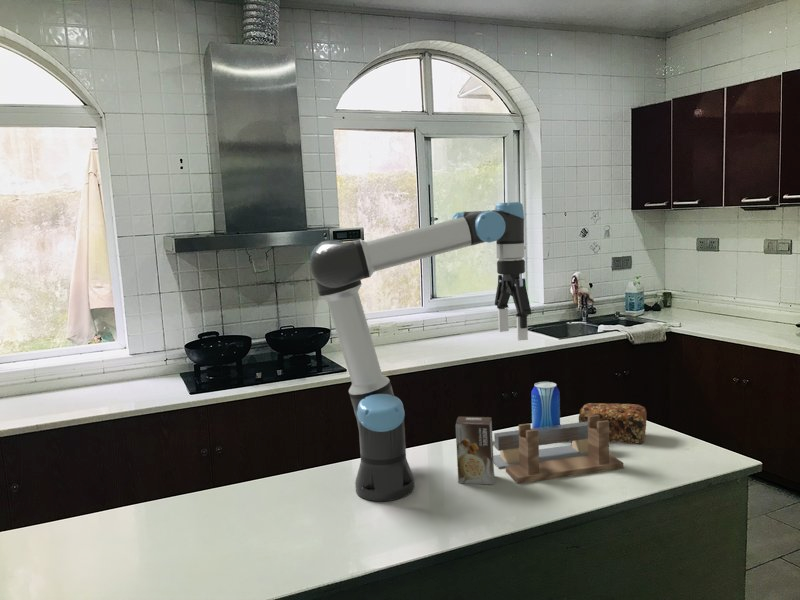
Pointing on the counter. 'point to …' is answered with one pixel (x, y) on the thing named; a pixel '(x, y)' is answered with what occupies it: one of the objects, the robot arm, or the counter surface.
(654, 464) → the counter surface
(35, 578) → the counter surface
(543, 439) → the steel rail
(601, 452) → the walnut rack
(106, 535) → the counter surface
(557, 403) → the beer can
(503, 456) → the slate mat with oak rests
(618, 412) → the bread
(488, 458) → the coffee box
